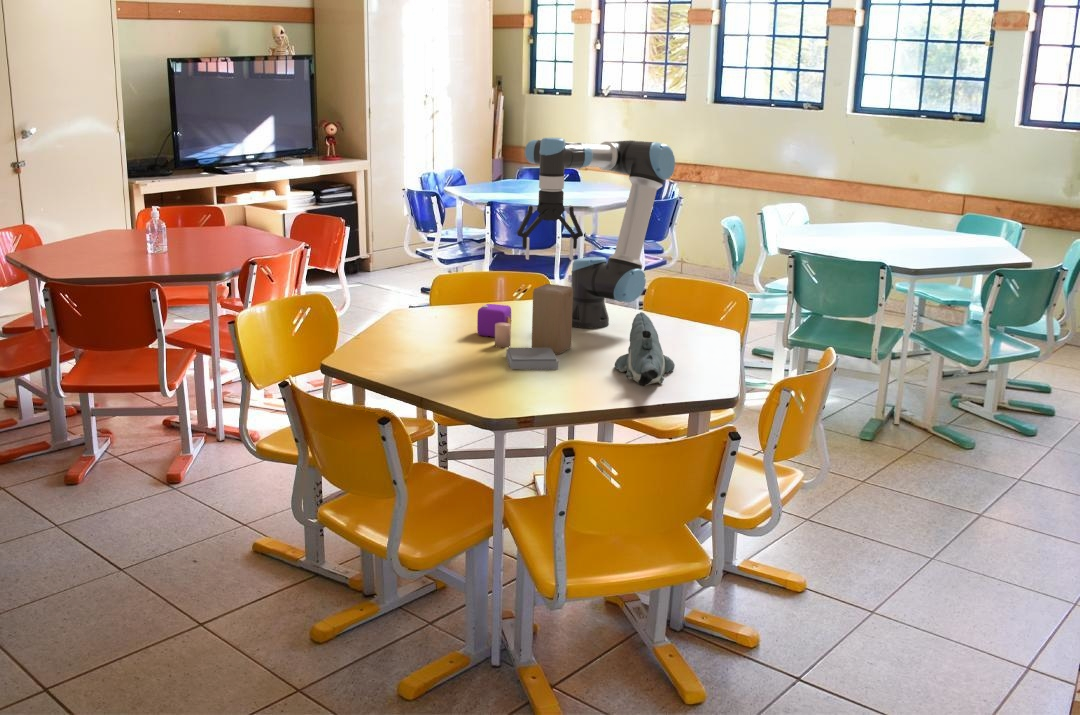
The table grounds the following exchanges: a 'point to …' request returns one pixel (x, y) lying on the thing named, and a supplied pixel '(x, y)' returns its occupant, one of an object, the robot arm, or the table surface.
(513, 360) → the stand
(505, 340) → the peach rounded capsule part
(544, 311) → the wooden block
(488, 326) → the toy camera
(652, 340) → the shark plush
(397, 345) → the table surface
